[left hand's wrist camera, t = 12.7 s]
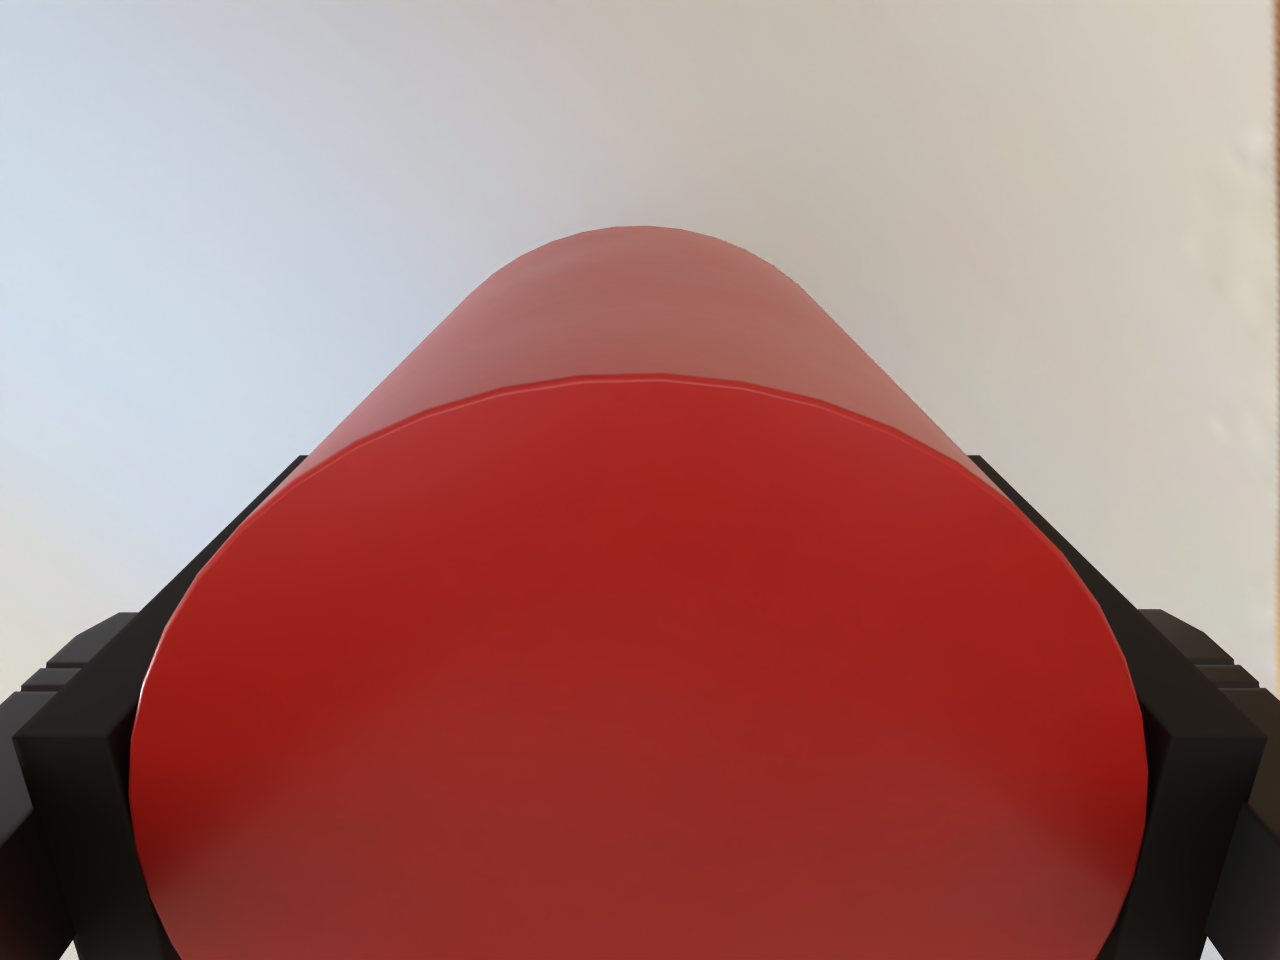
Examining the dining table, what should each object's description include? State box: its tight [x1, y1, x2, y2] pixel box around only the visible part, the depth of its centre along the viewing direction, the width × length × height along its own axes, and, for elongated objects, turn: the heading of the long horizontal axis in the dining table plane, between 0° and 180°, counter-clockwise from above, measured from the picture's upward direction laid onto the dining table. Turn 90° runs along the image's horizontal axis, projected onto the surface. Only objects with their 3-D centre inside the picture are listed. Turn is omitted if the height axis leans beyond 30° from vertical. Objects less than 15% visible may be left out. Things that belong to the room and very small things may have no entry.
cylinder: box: [128, 226, 1148, 960], centre depth 12 cm, size 8×8×10 cm
